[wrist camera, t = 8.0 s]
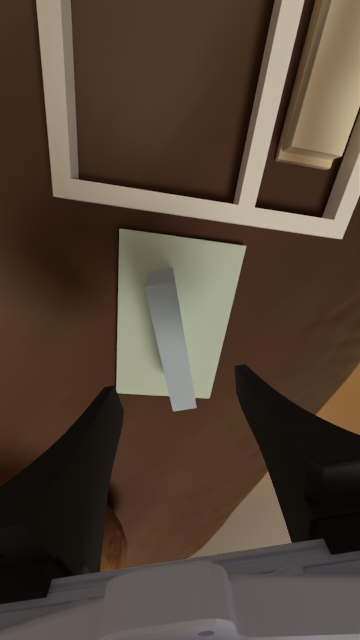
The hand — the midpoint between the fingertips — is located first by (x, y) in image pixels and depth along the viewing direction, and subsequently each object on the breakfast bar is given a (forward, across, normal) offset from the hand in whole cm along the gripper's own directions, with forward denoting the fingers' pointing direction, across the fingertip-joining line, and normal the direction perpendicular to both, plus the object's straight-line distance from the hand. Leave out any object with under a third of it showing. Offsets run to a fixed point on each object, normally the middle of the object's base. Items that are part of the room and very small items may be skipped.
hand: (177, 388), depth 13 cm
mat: (+9, 0, 0) cm, 9 cm away
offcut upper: (+8, -13, -16) cm, 22 cm away
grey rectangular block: (+8, 0, 0) cm, 8 cm away
